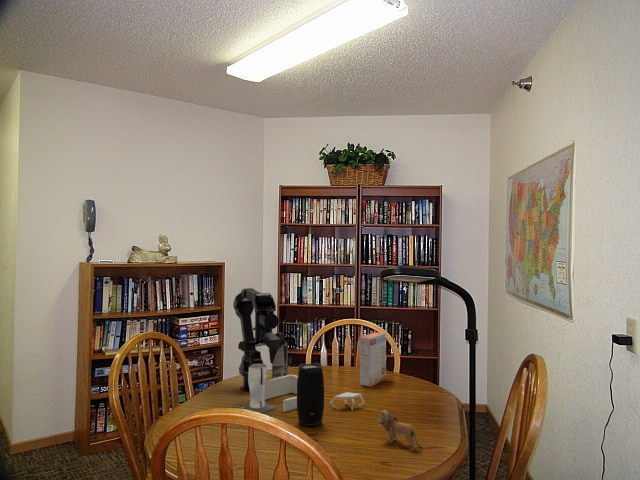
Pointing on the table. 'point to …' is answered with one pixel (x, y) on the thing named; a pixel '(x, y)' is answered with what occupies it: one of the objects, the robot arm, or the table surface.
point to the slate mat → (267, 408)
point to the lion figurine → (397, 428)
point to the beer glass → (257, 385)
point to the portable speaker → (310, 394)
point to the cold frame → (283, 390)
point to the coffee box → (280, 362)
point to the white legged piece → (348, 395)
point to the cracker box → (372, 359)
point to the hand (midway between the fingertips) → (262, 365)
